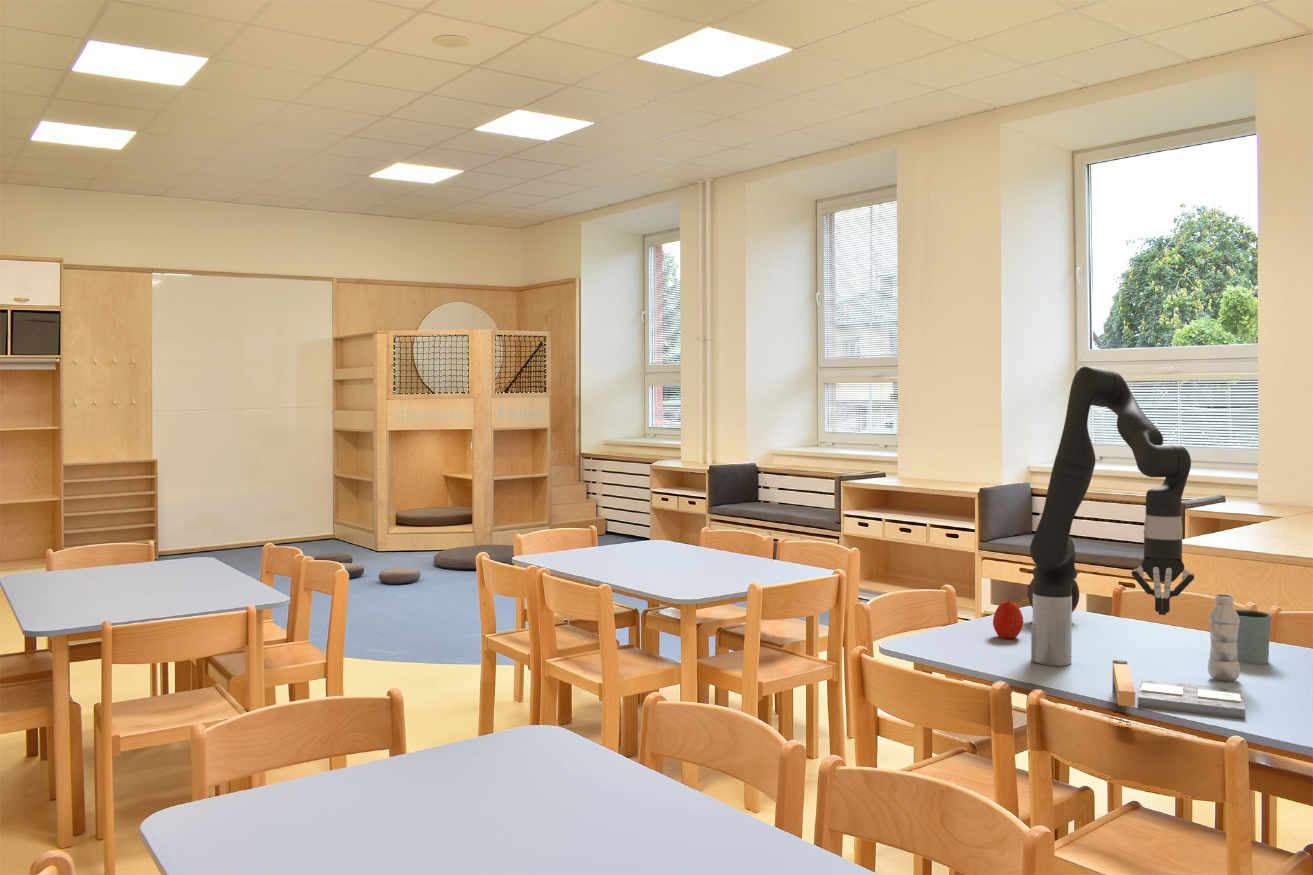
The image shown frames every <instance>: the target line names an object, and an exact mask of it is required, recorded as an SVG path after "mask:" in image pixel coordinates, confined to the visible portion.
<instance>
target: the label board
mask: <svg viewBox="0 0 1313 875" xmlns="http://www.w3.org/2000/svg"><path fill="white" fill-rule="evenodd" d="M1137 707H1142V708H1149V709H1157V710H1167V711H1174V712H1175V711H1176V712H1183V713H1192V714H1200V715H1206V716H1215V717H1216V716H1217V717H1224V718H1233V719H1240V720H1241V719H1242V720H1246V708H1245V703H1244V696H1243V691H1242V690H1241V689H1237V688H1236V689H1234V688H1226V687H1225V688H1224V687H1215V686H1208V685H1198V684H1189V683H1178V682H1170V681H1159V680H1153V679H1152V680H1151V679H1142V678H1140V683H1139V689H1138V695H1137Z"/></svg>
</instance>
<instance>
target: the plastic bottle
mask: <svg viewBox="0 0 1313 875" xmlns="http://www.w3.org/2000/svg"><path fill="white" fill-rule="evenodd" d="M1214 603H1215V606H1214V607H1212V609H1211V610H1210V611H1209V612H1208V615H1207V619H1208V620H1207V621H1208V626H1209V627H1208V628H1209V633H1210V634H1209V636H1210V650H1209V658H1208V662H1207V671H1208V674H1209V675H1210V677H1211V678H1213V679H1214V680H1219V681H1224V682H1228V681H1230V682H1231V681H1237V679H1238V678H1239V677H1240V672H1241V668H1240V667H1241V666H1240V662H1238V655H1237V635H1238V629H1239V623H1240V618H1239V615H1238V614H1237V612H1236V611H1235V610H1236V609H1235V608H1234V607H1233V605H1234V603H1235V602H1234V596H1233V595H1232V594H1221V593H1219V594H1217V593H1216V594H1215V595H1214Z"/></svg>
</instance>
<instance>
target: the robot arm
mask: <svg viewBox="0 0 1313 875" xmlns="http://www.w3.org/2000/svg"><path fill="white" fill-rule="evenodd" d="M1068 395H1069V396H1068V403H1067V408H1066V415H1065V421H1064V425H1063V430H1062V434H1061V437H1060V442H1059V445H1058V448H1057V451H1056V455H1055V457H1054V458H1055V459H1054V461H1053V464H1052V465H1053V466H1052V470H1051V474H1050V479H1049V481H1048V482H1049V483H1048V487H1047V492H1046V496H1045V502H1044V506H1043V511H1042V514H1041V516H1040V519H1039V522H1038V525H1037V527H1036V530H1035V533H1034V535H1033V537H1032V540H1031V543H1030V546H1029V552H1030V558H1031V560H1032V561H1033V563H1034V564H1035V566H1037V572H1036V577H1035V580H1034V583H1033V608H1032V623H1031V627H1030V628H1031V629H1030V630H1031V631H1030V634H1031V636H1030V639H1031V640H1030V641H1031V642H1030V645H1031V646H1030V662H1031V663H1037V664H1041V665H1046V666H1055V667H1056V666H1057V667H1058V666H1060V667H1061V666H1068V665H1071V664H1072V656H1073V653H1072V650H1073V649H1072V648H1073V647H1072V646H1073V645H1072V644H1073V643H1072V642H1073V641H1072V638H1073V637H1072V634H1073V632H1072V631H1073V629H1072V627H1073V626H1072V625H1073V624H1072V623H1073V612H1072V587H1073V583H1074V580H1075V579H1074V570H1075V568H1076V566H1075V565H1076V564H1075V563H1076V549H1075V548H1076V547H1075V543H1074V540H1073V539H1072V538H1071V536H1070V533H1071V529H1072V524H1073V521H1074V518H1075V516H1076V514H1077V512H1078V509H1079V507H1080V505H1081V504H1082V502H1083V500H1084V498H1085V496H1086V494H1087V491H1088V490H1089V487H1090V484H1091V481H1092V478H1093V477H1092V476H1093V473H1094V470H1095V466H1096V454H1095V449H1094V447H1093V442H1092V439H1091V436H1090V434H1089V433H1090V432H1089V428H1088V422H1089V420H1088V419H1089V414H1090V409H1091V406H1095V407H1098V408H1099V407H1101V408H1107V409H1109V410H1110V411H1112V412H1114V413H1115V414H1116V416H1117V419H1116V427H1117V428H1116V429H1117V432H1118V434H1119V435H1120V437H1121V438H1122V440H1123V441H1124V442H1125V444H1127V446H1128V447H1129V448H1130V449H1131V451H1132V455H1133V456H1134V459H1135V462H1136V466H1137V469H1138V471H1139V472H1141V473H1142V474H1143V475H1144V476H1146V477H1149V478H1165V479H1164V481H1163V483H1162V484H1161V485H1160V486H1156V487H1154V488H1150V489H1148V490H1147V492H1146V494H1145V519H1144V526H1143V535H1144V536H1143V560H1142V561H1141V564H1140V566H1139V567H1137V568H1135V569H1133V570H1132V571H1131V576H1132V577H1133V579H1134V580H1135V582H1137V583H1138V584H1139V586H1140V588H1142V589H1143V590H1144V592H1145V594H1146V595H1151V596H1153V597H1154V610H1155V612H1156V613H1158V615H1159V616H1167V613H1168V614H1169V612H1170V609H1171V608H1170V607H1171V606H1170V602H1171V601H1170V600H1171V598H1173V597H1177V596H1180V594H1181V593H1182V592H1183V591H1184V590H1185V589H1186V588H1187V587H1188V586H1189V584H1190V583H1191V582H1192V581H1194V579H1195V574H1194V572H1189V570H1187V569H1186V568H1185V564H1184V562H1183V536H1184V535H1183V522H1182V521H1183V520H1182V498H1183V494H1184V491H1185V488H1186V484H1187V481H1188V478H1189V475H1190V471H1191V467H1192V458H1191V455H1190V453H1189V451H1188V449H1187V448H1185V446H1183V445H1179V444H1170V445H1169V444H1168V445H1167V444H1166V445H1165V444H1164V437H1163V434H1162V433H1161V432H1162V431H1160V430H1159V429H1158V428H1157V426H1156V425H1155V424H1154V423H1153V421H1151V419H1150V418H1148V417H1147V415H1146V414H1145V413H1144V411H1143V410H1142V409H1141V407H1140V405H1139V404H1138V402H1137V400H1136V398H1135V396H1134V395H1133V393H1132V391H1131V389H1130V387H1129V386H1128V384H1127V382H1126V380H1125V379H1124V377H1123V376H1122V375H1121V374H1120V373H1119V372H1117V371H1115V370H1111V369H1107V368H1102V367H1095V366H1091V365H1084V366H1082V367H1080V368H1078V370H1077V371H1076V372H1075V374H1074V376H1073V380H1072V383H1071V386H1070V391H1069V394H1068ZM1144 572H1145V573H1144ZM1145 574H1146V575H1147V576H1148V578H1149V579H1150V580H1151V581H1153V586H1154V588H1153V587H1152V586H1150V585H1149V583H1148V582H1147V581H1146V579H1145V578H1144V576H1145ZM1180 575H1181V581H1180V582H1179V584H1177V585H1176V587H1175V588H1174V589H1171V586H1172V583H1173V582H1175V581H1176V580H1177V579H1178V577H1179V576H1180ZM1161 582H1164V585H1163V586H1164V587H1163V596H1162V584H1161Z"/></svg>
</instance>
